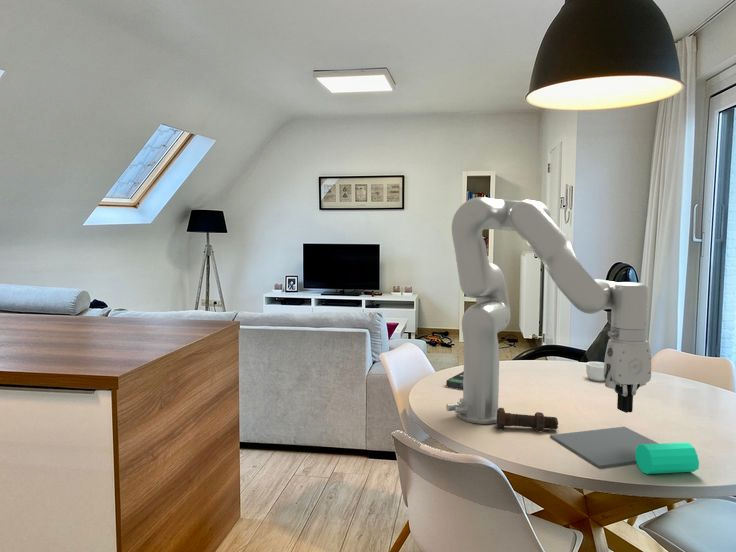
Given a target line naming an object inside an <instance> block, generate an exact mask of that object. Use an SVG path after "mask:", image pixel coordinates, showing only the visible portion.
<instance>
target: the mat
mask: <svg viewBox="0 0 736 552" xmlns="http://www.w3.org/2000/svg"><path fill="white" fill-rule="evenodd" d="M549 436H550V438H551V439H553V440H554V441H556V442H557V443H558V444H560V445H562V446H564V447H565V448H566V449H568V450H570V451H571V452H573V453H574V454H576V455H577V456H579V457H581V458H582V459H584V460H586V461H587V462H588V463H590V464H592V465H594V466H595V467H596V468H597V469H604V468H605V469H606V468H612V467H618V466H626V465H632V464H637V462H636V456H635V452H636V447H637V446H638V445H640V444H660V443H659V442H657V441H655V440H653V439H650V438H649V437H646V436H645V435H642V434H641V433H638V432H636V431H634V430H632V429H630V428H628V427H625V426H617V427H609V428H599V429H591V430H583V431H582V430H580V431H574V432H565V433H556V434H555V433H554V434H550V435H549Z"/></svg>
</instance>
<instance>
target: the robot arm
mask: <svg viewBox="0 0 736 552" xmlns="http://www.w3.org/2000/svg"><path fill="white" fill-rule="evenodd" d="M451 221H452V222H451V238H452V243H453V246H454V253H455V261H456V267H457V275H458V280H459V285H460V290H461V291H462V292H463V294H464V295H465V296H466V297H468V298H470V299H475V303H474V304H471V306H469V307H467V309H466V310H465V311H464V314H463V315H462V319H461V332H462V341H463V371H464V380H463V390H462V393H463V394H462V396H463V397H462V398H459V401H457V402H456V403H447V404H446V411H447V412H453V411H454V413H455V414H456V415H457V416H458V418H459V419H461V420H463V421H465V422H467V423H468V422H469V423H472V424H478V425H479V424H481V425H493V424H497V410H498V409H499V390H500V389H499V387H500V385H499V384H500V380H499V379H500V345H499V339H498V333H501V332H502V331H505V329H506V328H508V326H509V324H510V321H511V307H510V302H509V301H510V299H509V296H508V290H507V289H508V288H507V283H506V278H505V276H504V273H503V270H501V268H500V267H499V266H498V265H497V264H495V263H493V262H490V261H489V256H488V251H487V245H486V242H485V241H486V240H485V239H484V237H483V231H484V230H499V231H501V230H502V231H509V232H516V234H517V235H518V236H519V237H520V238H521V239H522V240H523V242H525V244H526V245H527V246H528V247H529V248H530V249H531V251H532V252H533V253H534V254H535V256H536V257H537V258H538V259H539V260H540V261H541V263H542V265H543V266H544V268H545V270H546V272H547V273H548V275H549V276H550V278H551V279H552V281H553V283H554V284H555V286H557V288H558V289H559V290H560V292H561V293H562V294H563V295H564V296H565V297H566V298H567V300H568V301H569V302H570V303H571V305H573V306H574V308H576V309H577V310H578V311H580V312H582V313H584V314H589V315H592V314H597V313H599V312H602V311H603V310H611V312H610V313H611V314H610V315H611V317H610V330H609V331H607V336H608V337H610V338H609V339H608V342H607V344H606V350H605V355H604V362H603V363H604V378H605V379H606V380H605V383H604V385H605V387H606V388H608V389H612V390H614V391H615V393H616V394H617V399H616V400H617V404H616V405H617V407H616V409H617V410H618V411H621V412H623V413H626V414H627V413H633V410H634V409H633V407H634V405H633V403H634V396H635V395H636V394H637V390H638V389H639V388H641V387H643V386H646V385H647V383H649V382H650V381H651V380H652V353H651V347H650V343H649V341H648V340H647V338H646V337H647V319H648V300H649V299H648V298H649V289H648V286H647V285H646V284H645V283H642V282H635V281H634V282H633V281H621V282H620V281H619V282H617V281H611V280H605V279H601V278H597V279H594V278H593V277H592V276H591V274H590V273H589V272H588V271H587V270H586V269H585V268H584V267H583V265H582V264H581V262H580V261H579V259H578V258H577V256H576V253H575V252H574V246H573V243H572V241H571V240H570V238H569V237H568V236H567V235H566V234H565V233H564V232H563V230H562V229H561V228H560V227H559V226H558V225H557V224H556V223H555V222H554V221H553V219H552V218H551V213H550V210H549V208H548V207H547V206H546V204H544V203H543V202H541V201H539V200H538V201H537V200H532V199H524V200H510V199H498V198H492V197H491V198H490V197H485V196H477V197H474V198H470V199H468V200H466V201H465V202H464V203H462V204H461V205H460V206H459V207H458V208H457V210H456V212H455V213H454V215H453V218H452V220H451Z"/></svg>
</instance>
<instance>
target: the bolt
mask: <svg viewBox="0 0 736 552" xmlns="http://www.w3.org/2000/svg"><path fill="white" fill-rule="evenodd" d="M558 425H559V421H558V418H557V417H555V416H546V415H545V414H544V413H543V412H539V411H536V412H535V414H530V415H529V414H521V413H520V414H519V413H511V412H506V411H505V408H504V407H498V410H497V423H496V428H497V430H499V429H502V430H501V431H504V430H505V427H519V428H520V427H521V428H529V429H530V428H533V429H534V430H535V431H536V432H540V431H542V432H544V431H545V430H554V431H555V430H557V429H558V428H559V426H558Z"/></svg>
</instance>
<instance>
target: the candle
mask: <svg viewBox="0 0 736 552" xmlns="http://www.w3.org/2000/svg"><path fill="white" fill-rule="evenodd" d="M635 456H636V462H637V463H636V464H637V466H638V468H639V470H640V471H641V472H642V473H644V474H647V475H649V474H651V475H652V474H654V475H655V474H669V473H670V474H671V473H673V474H675V473H693V472H696V471H697V470H699V469H700V468H699V466H700V462H699V461H700V460H699V457H698V453H697V451H696V448H695V447H694V445H692V444H691V443H690V442H668V443H666V442H665V443H659V444H640V445H638V446H637V447H636V452H635Z"/></svg>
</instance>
